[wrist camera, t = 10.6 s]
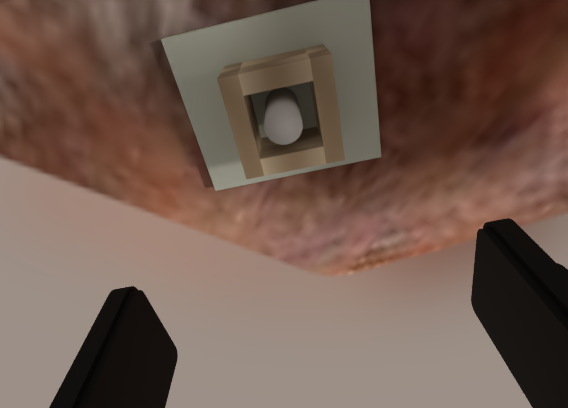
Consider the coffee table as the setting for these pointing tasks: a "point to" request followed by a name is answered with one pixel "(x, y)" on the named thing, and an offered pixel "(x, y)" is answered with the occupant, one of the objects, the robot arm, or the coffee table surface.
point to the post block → (287, 100)
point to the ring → (272, 75)
